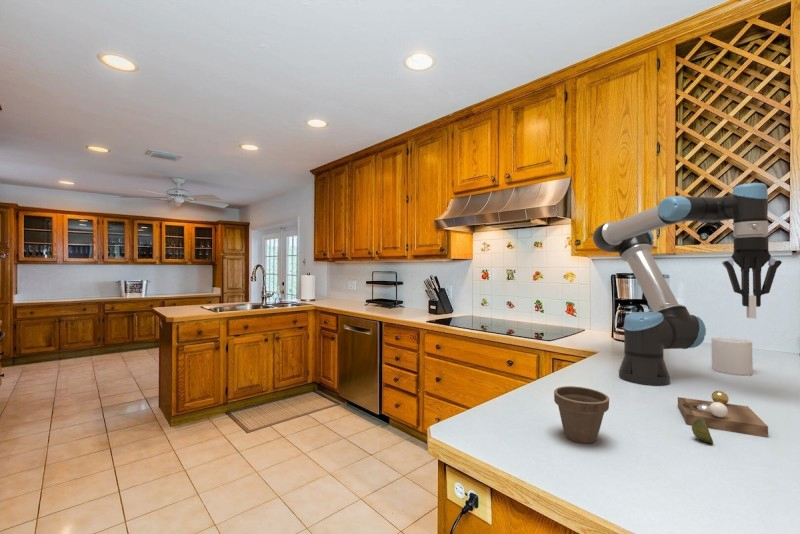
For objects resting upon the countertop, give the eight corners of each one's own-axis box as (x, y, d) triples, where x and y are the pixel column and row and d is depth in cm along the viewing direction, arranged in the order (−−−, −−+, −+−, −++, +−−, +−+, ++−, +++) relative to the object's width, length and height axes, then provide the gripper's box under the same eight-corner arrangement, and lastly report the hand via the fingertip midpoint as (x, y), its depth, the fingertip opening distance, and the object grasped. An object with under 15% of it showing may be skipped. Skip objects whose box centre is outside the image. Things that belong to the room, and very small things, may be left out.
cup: (746, 377, 137) (745, 343, 137) (706, 370, 147) (706, 339, 147) (757, 372, 144) (756, 340, 144) (718, 366, 153) (718, 336, 154)
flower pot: (618, 451, 80) (617, 403, 80) (560, 447, 82) (560, 400, 82) (599, 429, 91) (599, 387, 92) (549, 426, 93) (549, 384, 94)
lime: (705, 436, 88) (704, 414, 88) (723, 446, 83) (723, 422, 83) (685, 436, 88) (685, 414, 88) (703, 446, 83) (702, 423, 83)
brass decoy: (713, 405, 101) (713, 391, 101) (710, 401, 104) (710, 388, 104) (730, 407, 99) (730, 394, 99) (726, 403, 102) (726, 390, 102)
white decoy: (711, 418, 92) (710, 403, 92) (707, 413, 95) (707, 399, 95) (729, 420, 90) (729, 405, 90) (725, 415, 93) (725, 401, 93)
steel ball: (697, 403, 98) (715, 407, 96) (695, 400, 101) (712, 404, 99) (696, 417, 98) (713, 421, 96) (694, 414, 101) (711, 417, 99)
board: (686, 424, 94) (686, 414, 94) (677, 406, 107) (677, 397, 108) (768, 437, 87) (768, 426, 87) (747, 415, 100) (747, 406, 100)
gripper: (725, 237, 112) (726, 317, 111) (786, 235, 105) (787, 320, 105) (718, 239, 118) (719, 315, 118) (775, 237, 112) (776, 317, 112)
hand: (751, 317), depth 111 cm, fingers closed
